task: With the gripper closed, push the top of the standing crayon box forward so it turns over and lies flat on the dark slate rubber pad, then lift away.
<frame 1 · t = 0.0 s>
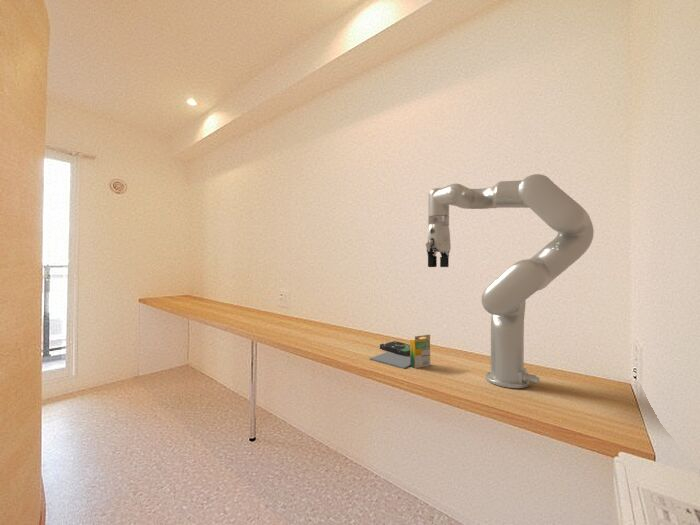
hand: (438, 267, 115), 37 cm above the counter, tool pointing down, fingers open, 9 cm apart
crayon box: (420, 366, 113), on the counter
slate pad: (395, 360, 120), on the counter
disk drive: (399, 352, 134), on the counter
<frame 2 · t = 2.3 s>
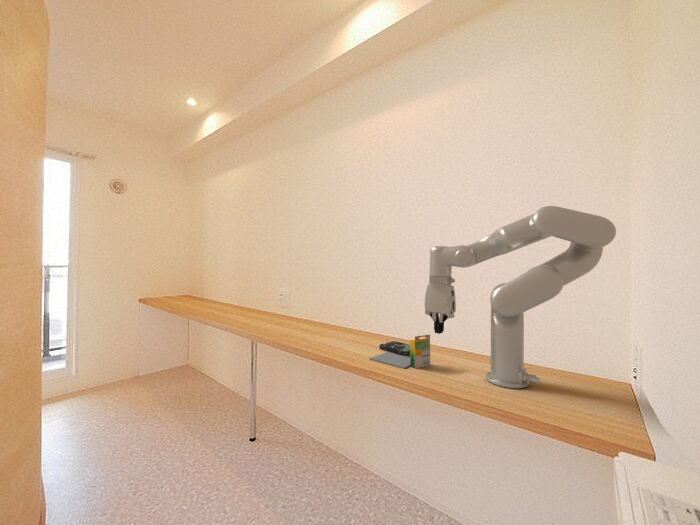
hand: (438, 332, 108), 13 cm above the counter, tool pointing down, fingers closed
nothing on the counter moved.
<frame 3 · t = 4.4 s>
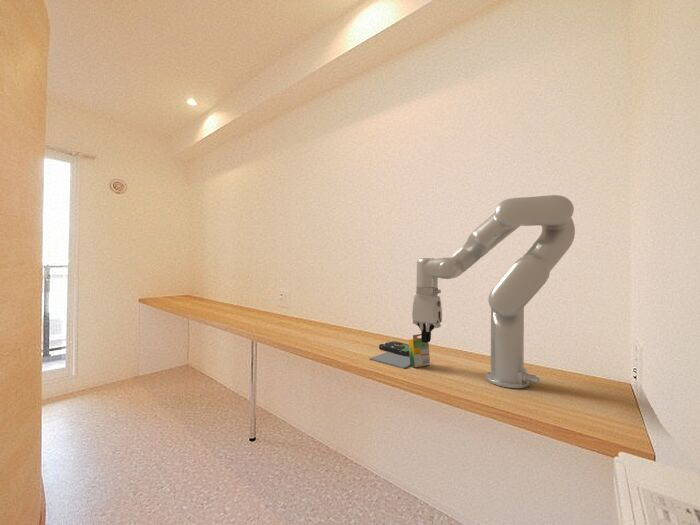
hand: (426, 341, 112), 9 cm above the counter, tool pointing down, fingers closed
crayon box: (420, 366, 113), on the counter, touching gripper
everything else where it was.
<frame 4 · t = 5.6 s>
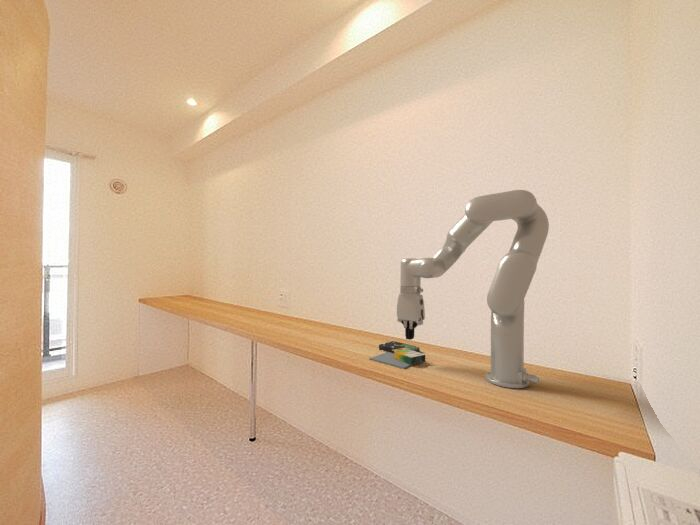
hand: (409, 338, 117), 9 cm above the counter, tool pointing down, fingers closed
crayon box: (419, 360, 114), point 2 cm above the counter, touching slate pad
everything else where it was.
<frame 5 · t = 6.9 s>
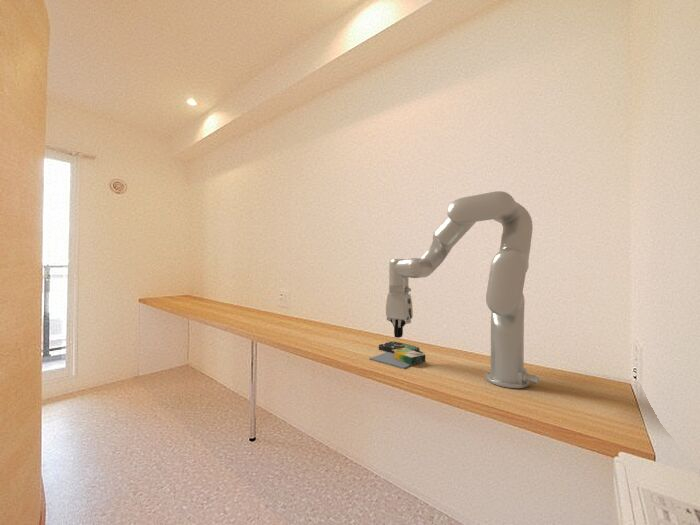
hand: (398, 336, 120), 9 cm above the counter, tool pointing down, fingers closed
nothing on the counter moved.
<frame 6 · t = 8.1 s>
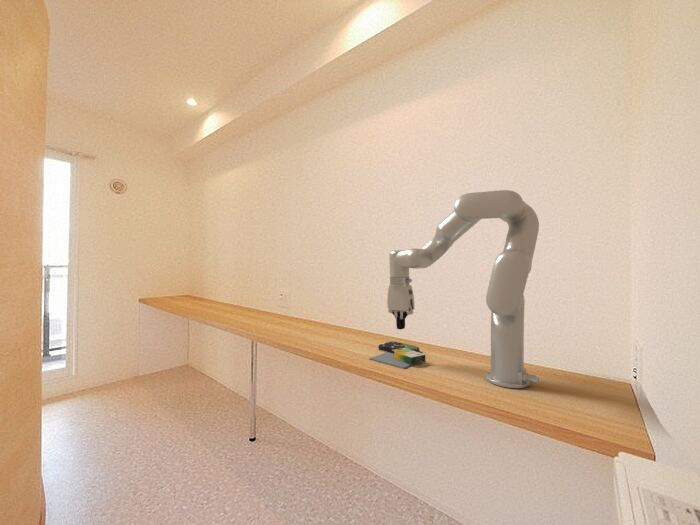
hand: (400, 328, 120), 13 cm above the counter, tool pointing down, fingers closed
nothing on the counter moved.
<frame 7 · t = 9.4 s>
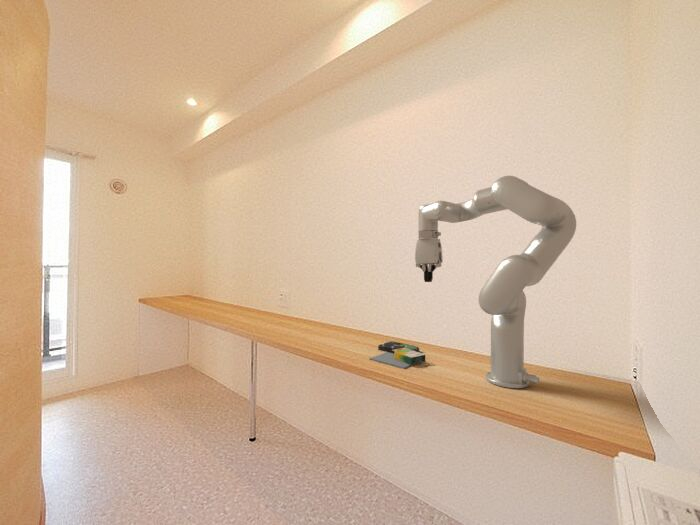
hand: (428, 281, 122), 31 cm above the counter, tool pointing down, fingers closed
nothing on the counter moved.
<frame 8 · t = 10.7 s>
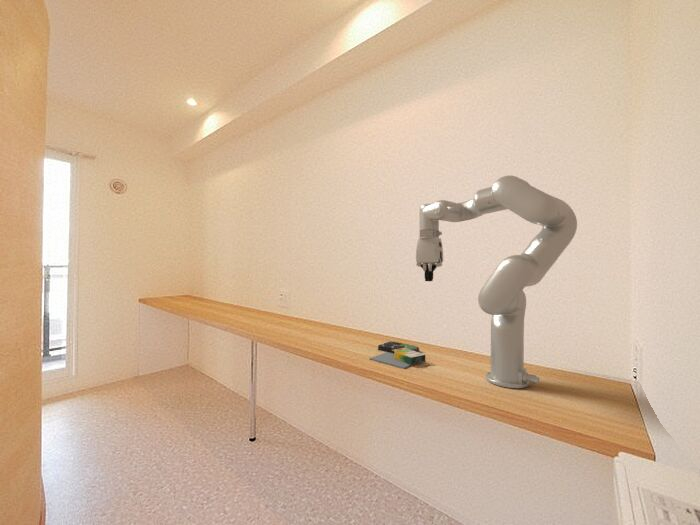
hand: (428, 281, 122), 31 cm above the counter, tool pointing down, fingers closed
nothing on the counter moved.
at the end: crayon box tilted 89°; crayon box touching slate pad; crayon box inside the target area (4.3 cm from its centre), point 1.9 cm above the counter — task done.
